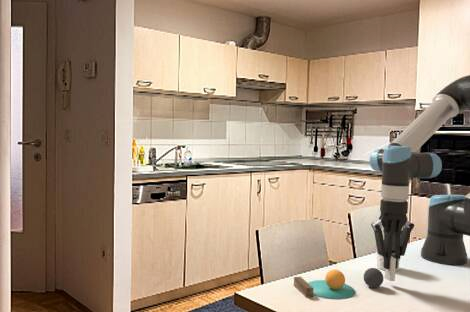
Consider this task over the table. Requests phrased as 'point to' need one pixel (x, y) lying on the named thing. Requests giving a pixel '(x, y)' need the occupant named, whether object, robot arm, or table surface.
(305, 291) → the wall
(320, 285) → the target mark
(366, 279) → the dark grey sphere
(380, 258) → the white cup
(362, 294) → the table surface
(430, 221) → the robot arm
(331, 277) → the object ball
